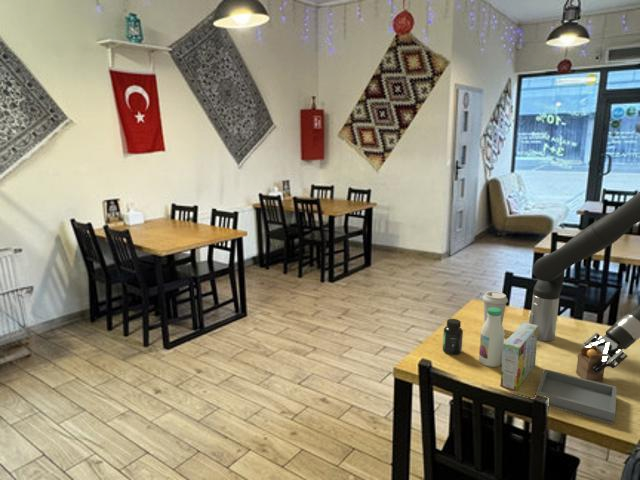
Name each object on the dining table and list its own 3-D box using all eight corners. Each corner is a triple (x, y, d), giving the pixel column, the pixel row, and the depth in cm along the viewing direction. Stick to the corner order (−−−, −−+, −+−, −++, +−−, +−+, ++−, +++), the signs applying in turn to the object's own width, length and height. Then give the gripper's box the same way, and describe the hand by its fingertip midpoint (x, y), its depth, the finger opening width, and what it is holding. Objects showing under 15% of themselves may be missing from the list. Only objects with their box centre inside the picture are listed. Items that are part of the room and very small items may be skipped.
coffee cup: (484, 322, 195) (487, 289, 192) (507, 327, 190) (510, 293, 187) (477, 330, 188) (479, 295, 184) (501, 336, 182) (504, 300, 179)
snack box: (518, 360, 163) (522, 321, 160) (535, 365, 160) (540, 325, 156) (498, 385, 147) (502, 342, 144) (516, 391, 144) (521, 347, 140)
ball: (586, 358, 150) (586, 350, 149) (586, 355, 152) (587, 347, 152) (596, 360, 148) (597, 352, 148) (597, 357, 151) (598, 348, 150)
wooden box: (592, 372, 155) (595, 347, 152) (602, 381, 149) (606, 355, 147) (575, 373, 154) (579, 347, 152) (585, 382, 149) (589, 355, 147)
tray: (535, 402, 138) (536, 391, 137) (543, 378, 151) (544, 369, 150) (613, 424, 128) (615, 413, 127) (614, 397, 140) (616, 386, 140)
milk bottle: (501, 358, 165) (506, 306, 160) (502, 369, 157) (507, 314, 153) (478, 355, 167) (482, 304, 162) (478, 365, 160) (482, 312, 155)
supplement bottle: (440, 353, 169) (442, 323, 166) (444, 345, 175) (446, 316, 172) (459, 356, 166) (462, 326, 163) (462, 348, 172) (464, 319, 169)
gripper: (605, 315, 155) (567, 347, 157) (634, 333, 141) (592, 368, 143) (618, 329, 156) (580, 361, 158) (649, 349, 142) (607, 383, 144)
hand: (586, 364), depth 151 cm, fingers open, 7 cm apart
